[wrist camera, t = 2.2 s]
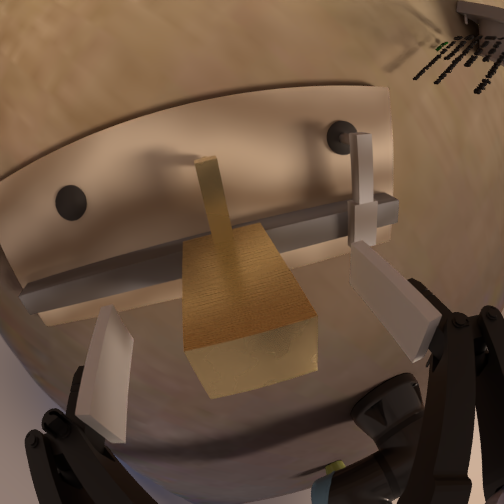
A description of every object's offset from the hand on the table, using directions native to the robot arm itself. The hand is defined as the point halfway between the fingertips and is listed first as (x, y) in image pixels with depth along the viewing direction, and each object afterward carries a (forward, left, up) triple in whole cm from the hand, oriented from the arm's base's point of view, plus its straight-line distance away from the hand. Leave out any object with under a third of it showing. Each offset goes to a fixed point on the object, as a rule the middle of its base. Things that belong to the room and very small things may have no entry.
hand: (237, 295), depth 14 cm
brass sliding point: (+2, 0, -6) cm, 7 cm away
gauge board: (+3, +2, -8) cm, 9 cm away
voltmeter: (+17, -29, -9) cm, 35 cm away
